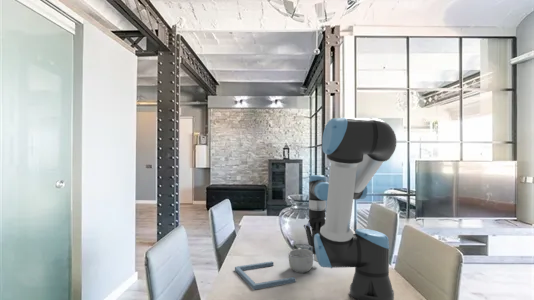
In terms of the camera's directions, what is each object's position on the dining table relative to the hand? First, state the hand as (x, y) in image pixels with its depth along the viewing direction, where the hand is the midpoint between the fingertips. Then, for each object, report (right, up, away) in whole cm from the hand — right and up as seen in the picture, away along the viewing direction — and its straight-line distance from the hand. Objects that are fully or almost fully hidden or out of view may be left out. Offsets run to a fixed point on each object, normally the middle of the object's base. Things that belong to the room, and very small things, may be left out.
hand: (316, 260), depth 145 cm
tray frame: (-24, -2, -12) cm, 26 cm away
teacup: (-8, -3, -4) cm, 9 cm away
